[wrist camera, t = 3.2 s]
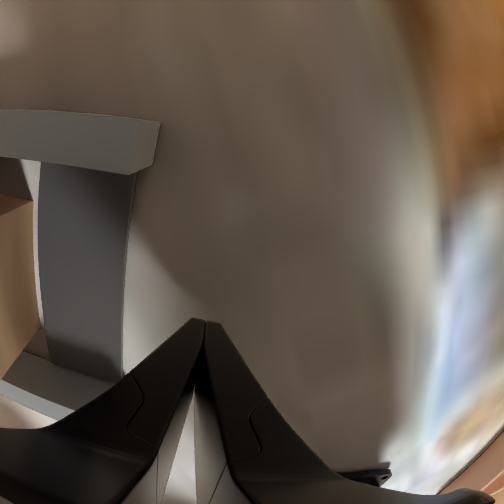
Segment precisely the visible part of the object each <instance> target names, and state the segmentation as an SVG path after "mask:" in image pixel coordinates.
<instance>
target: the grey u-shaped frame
mask: <svg viewBox="0 0 504 504" xmlns="http://www.w3.org/2000/svg"><path fill="white" fill-rule="evenodd" d="M160 124H161V122H158V121H151V120H144V119H137V118H129V117H121V116H113V115H103V114H93V113H82V112H68V111H52V110H23V109H0V157H9V158H17V159H25V160H33V161H41V168H40V181H39V198H38V259H39V277H40V289H41V299H42V308H43V317H44V324H45V331H46V337H47V343H48V349H49V354H50V359H51V361H48V360H45V359H43V358H40V357H37V356H35V355H32V354H30V353H27V352H25V351H23V350H22V352H21V353H20V354H19V356H18V357H17V358H16V360H15V361H14V362H13V364H12V365H11V366H10V368H9V369H8V370H7V372H6V373H5V375H4V376H3V377H2V379H1V380H0V395H2V396H4V397H6V398H8V399H10V400H12V401H14V402H16V403H19V404H21V405H23V406H25V407H27V408H29V409H32V410H34V411H36V412H39V413H41V414H43V415H46V416H48V417H51V418H53V419H56V420H58V421H59V420H61V419H62V418H64V417H66V416H67V415H69V414H71V413H72V412H74V411H75V410H77V409H79V408H80V407H82V406H84V405H85V404H87V403H88V402H90V401H92V400H93V399H95V398H96V397H98V396H99V395H101V394H102V393H104V392H105V391H107V390H108V389H109V388H111V387H112V386H113V385H114V384H116V383H117V382H118V381H119V380H121V379H122V378H123V306H124V286H125V271H126V258H127V247H128V237H129V228H130V219H131V211H132V203H133V196H134V189H135V183H136V176H137V171H139V170H142V169H144V168H146V167H149V166H151V165H152V164H153V159H154V153H155V148H156V143H157V138H158V133H159V129H160Z"/></svg>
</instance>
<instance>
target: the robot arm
mask: <svg viewBox="0 0 504 504" xmlns="http://www.w3.org/2000/svg"><path fill="white" fill-rule="evenodd" d="M205 323H206V324H205ZM194 387H195V389H194ZM193 392H194V443H195V474H196V495H197V504H494V503H495V499H494V498H493V497H492V496H490V495H488V494H487V493H485V492H483V491H480V490H475V489H470V488H460V489H457V490H454V491H451V492H449V493H445V494H440V495H419V494H412V493H406V492H400V491H395V490H390V489H385V488H381V487H380V486H381V485H383V484H384V483H385V482H386V481H387V480H388V479H389V478H390V477H391V476H392V473H391V470H390V469H385V470H378V471H370V472H361V473H351V474H337V473H336V472H334V471H333V470H332V469H330V468H329V467H328V466H327V465H326V464H325V463H324V462H323V461H322V460H321V459H320V458H319V457H318V456H317V455H316V454H315V453H314V452H313V451H312V450H311V448H310V447H309V446H308V445H307V444H306V443H305V442H304V441H303V440H302V439H301V438H300V437H299V436H298V435H297V434H296V432H295V431H294V430H293V429H292V428H291V427H290V426H289V424H288V423H287V422H286V421H285V420H284V418H283V417H282V416H281V414H280V413H279V412H278V410H277V409H276V408H275V406H274V405H273V403H272V402H271V400H270V399H269V398H267V397H268V396H267V395H266V393H265V392H264V390H263V389H262V387H261V386H260V384H259V383H258V381H257V380H256V378H255V377H254V375H253V374H252V372H251V371H250V369H249V368H248V366H247V365H246V363H245V361H244V360H243V358H242V357H241V355H240V354H239V352H238V351H237V349H236V347H235V346H234V344H233V343H232V341H231V340H230V338H229V336H228V335H227V333H226V332H225V330H224V328H223V327H222V325H221V324H220V323H217V322H211V321H207V322H205V321H204V320H201V319H196V318H191V319H190V320H189V321H187V322H186V323H185V324H184V325H183V326H182V327H181V328H179V329H178V330H177V331H176V332H175V333H174V334H173V335H171V336H170V337H169V338H168V339H167V340H166V341H165V342H163V343H162V344H161V345H160V346H159V347H158V348H156V349H155V350H154V351H153V352H152V353H151V354H150V355H148V356H147V357H146V358H145V359H144V360H143V361H142V362H140V363H139V364H138V365H137V366H136V367H135V368H133V369H132V370H131V371H130V373H127V374H126V375H125V376H124V377H123V378H122V379H121V380H119V381H118V382H117V383H116V384H114V385H113V386H112V387H111V388H109V389H108V390H107V391H105V392H104V393H102V394H101V395H99V396H98V397H96V398H95V399H93V400H92V401H90V402H88V403H87V404H85V405H84V406H82V407H80V408H79V409H77V410H75V411H74V412H72V413H71V414H69V415H67V416H66V417H64V418H62V419H61V420H59V421H57V422H55V423H54V424H51V425H49V426H46V427H43V428H38V429H11V428H0V504H161V503H162V499H163V496H164V492H165V488H166V485H167V481H168V478H169V475H170V471H171V468H172V464H173V461H174V457H175V454H176V450H177V447H178V443H179V440H180V437H181V433H182V430H183V426H184V423H185V420H186V416H187V413H188V410H189V406H190V403H191V399H192V396H193Z"/></svg>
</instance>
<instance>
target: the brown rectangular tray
mask: <svg viewBox="0 0 504 504" xmlns="http://www.w3.org/2000/svg"><path fill="white" fill-rule="evenodd" d="M460 488H470V489H475V490H480V491H483V492H485V493H487V494H488V495H490V496H492V495H494V494H496V493H498V492H499V491H501V490H503V489H504V431H503V432H502V434H501V435H500V436H499V437H498V438H497V439H496V440H495V441H494V442H493V443H492V444H491V446H490V447H489V448H488V449H487V450H486V451H485V452H484V453H483V454H482V455H481V456H480V457H479V458H478V459H477V460H476V461H475V462H474V463H473V464H472V465H471V466H470V467H468V468H467V469H466V470H465V471H464V472H463V473H462V474H461V475H460V476H459V477H458V478H456V479H455V480H454V481H453V482H452V483H451V484H450V485H448V486H447V487H446V488H445V489H444V490H442V491H441V492H440V493H439V494H437V495H440V494H445V493H449V492H451V491H454V490H457V489H460Z"/></svg>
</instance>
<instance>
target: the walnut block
mask: <svg viewBox="0 0 504 504" xmlns="http://www.w3.org/2000/svg"><path fill="white" fill-rule="evenodd" d="M40 328H41V326H40V320H39V312H38V304H37V296H36V285H35V273H34V256H33V201H32V200H27V199H22V198H17V197H12V196H7V195H2V194H0V380H1V379H2V377H3V376H4V375H5V373H6V372H7V370H8V369H9V368H10V366H11V365H12V364H13V362H14V361H15V360H16V358H17V357H18V356H19V354H20V353H21V352H22V350H23V349H24V348H25V347H26V345H27V344H28V343H29V341H30V340H31V339H32V338H33V336H34V335H35V334H36V333H37V331H38V330H39V329H40Z"/></svg>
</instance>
